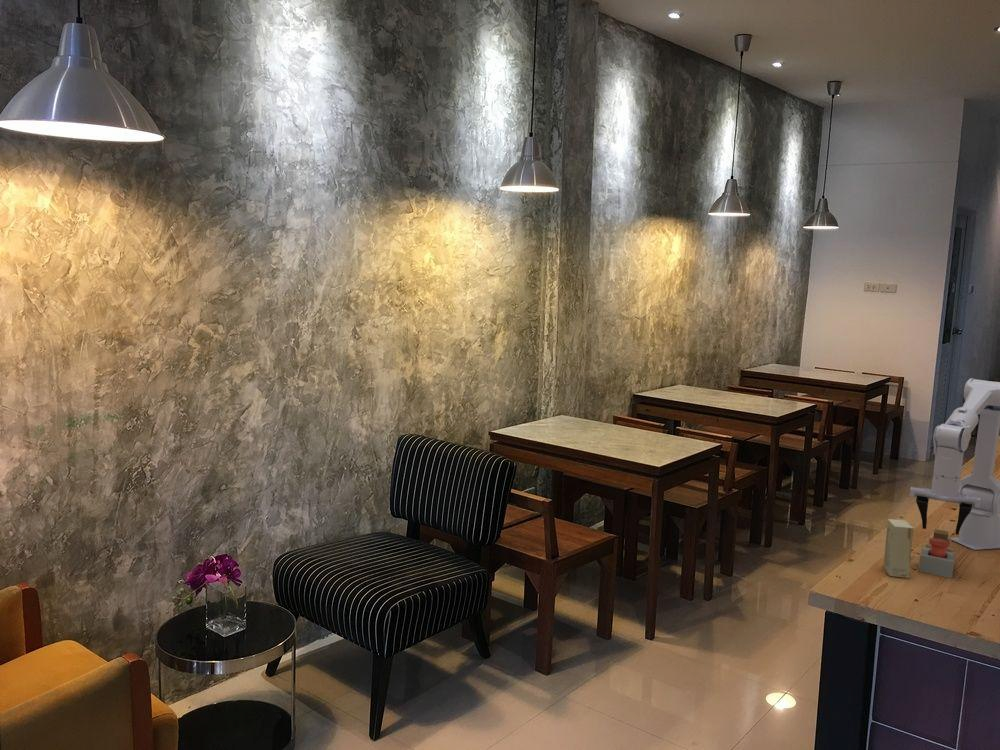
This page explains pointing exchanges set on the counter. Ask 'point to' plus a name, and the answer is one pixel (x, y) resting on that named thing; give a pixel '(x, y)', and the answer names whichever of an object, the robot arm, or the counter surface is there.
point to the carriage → (941, 535)
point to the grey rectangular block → (936, 563)
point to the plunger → (938, 547)
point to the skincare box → (898, 548)
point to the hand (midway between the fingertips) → (940, 530)
